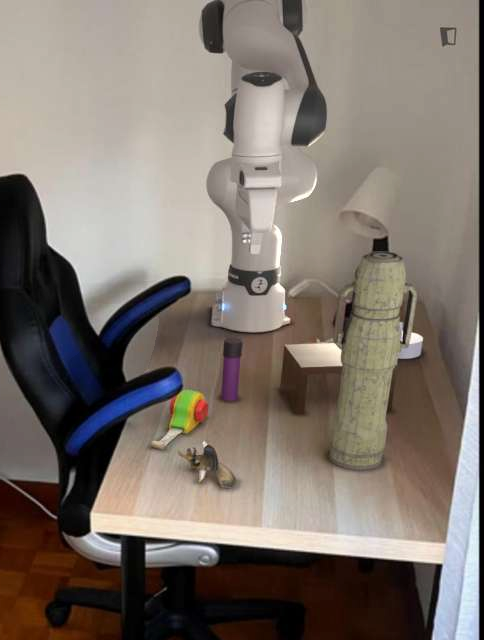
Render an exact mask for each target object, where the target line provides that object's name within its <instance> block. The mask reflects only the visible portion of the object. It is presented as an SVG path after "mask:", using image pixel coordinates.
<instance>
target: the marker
mask: <svg viewBox="0 0 484 640" xmlns="http://www.w3.org/2000/svg"><path fill="white" fill-rule="evenodd" d="M243 341H244V340H243V339H241V338H238V337H227V338H225V339H224V340H223V351H222V356H223V361H222V362H223V363H222V375H221V376H222V378H221V381H222V382H221V391H220V392H221V393H220V399H221V401H224V402H227V403H232V402H236V401H237V400H238V396H239V383H240V369H241V359H242V356H243V355H242V353H243Z"/></svg>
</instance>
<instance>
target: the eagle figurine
mask: <svg viewBox="0 0 484 640" xmlns="http://www.w3.org/2000/svg"><path fill="white" fill-rule="evenodd" d="M201 444H202V449H203V453H202V454H198V450H197V448H196V447H195V446H193V447H192V448H193V452H192V450H191V449H192V448H191V447H189V448H187V449H186V451H185V452H186V454H185V453H183V452H181V450H179V449H178V450H176V452H177V454H178V456H180V457H181V458H182V459H183V458H184V459H186V460H187V461H188V463H189V464H190V467H191V469H192V471H196V469H197V468H198V480H197V482H198V483H200V482H201V481H202V480H204V479H205V476H206V473H207V471H209V472H212V473H213V474H214V475H215V477H216V478H217V480H218V482H219V485H220V486H221V488H225V489H232V488H233V489H234V488H235V486H237V485H236V484H237V479H236V478H237V477H236V476H235V474H234V473H233V472H232V470H230V468H228V467H227V466H226V465H225V464H223V463H221V462H220V460H219V456H218V453H217V451H216V448H215V447H214V446H212V445H210V444H208V443H207V442H206V441H202V442H201ZM196 461H198V462H196Z"/></svg>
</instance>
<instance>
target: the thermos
mask: <svg viewBox="0 0 484 640" xmlns="http://www.w3.org/2000/svg"><path fill="white" fill-rule="evenodd" d="M406 279H407V273H406V267H405V262H404V257H403V256H401V255H399V254H398V253H396V252H391V251H386V250H385V251H383V250H379V251H378V250H377V251H370V252H368V253H367V254H364V255H362V257H361V259H360V260H359V263H358V264H357V267H356V270H355V273H354V280H353V281H352V283H348V284H345V285H343V287H342V289H341V290H340V291H339V292H338V297H337V305H336V313H335V321H334V329H333V337H332V338H333V342H332V343H335V344H336V346H337V347H338V348H339V349H340V350H342V351H341V363H342V366H343V367H342V374H340V375H341V376H340V383H339V391H338V400H337V407H336V413H335V414H334V416H333V418H332V421H331V428H330V434H329V447H330V448H329V449H330V450H329V451H328V459H329V461H330V462H331V463H333V464H335V465H336V466H338V467H341V468H344V469H349V470H358V471H361V470H362V471H364V470H365V471H366V470H371V469H376V468H377V467H379V466H380V465H381V464H382V459H383V457H382V456H383V451H384V450H385V446H386V440H387V434H388V423H387V420H386V417H387V412H386V411H387V405H388V398H389V392H390V385H391V379H392V372H393V369H394V367H395V366H396V364H398V359H399V358H398V353H399V352H401V349H404V348H408V346H409V342H410V338H411V333H413V326H414V320H415V313H416V307H417V302H418V295H419V294H418V292H417V290H416V289H415V287H414V285H413V284H411V282H410V283H407V282H406V281H407V280H406ZM351 292H352V296H351V305H352V307H351V310H350V311H349V318H348V320H347V322H346V323H345V325H344V322H345V315H346V305H347V297H348V295H349V294H350V293H351ZM406 293H408V298H407V305H406V311H405V316H404V322H403V329H402V331H403V337H402V340H403V342H402V341H401V328H400V323H399V322H400V319H401V313H400V310H401V307H402V305H403V299H404V294H406Z"/></svg>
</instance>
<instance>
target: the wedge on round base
mask: <svg viewBox="0 0 484 640" xmlns="http://www.w3.org/2000/svg"><path fill="white" fill-rule="evenodd" d="M399 323H400V328H401V341H402V342H403V340H402V337H403V329H404V321H399ZM423 341H424V337H423V336H422V335H420V334H418V333H416V332H412V333H411V338H410V342H409V346H408V348H404V349H401V352H399V353H398V359H399V360H400V359H401V360H405V359H406V360H407V359H414V358H417V357H420V356H421V353H422V347H423Z"/></svg>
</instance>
